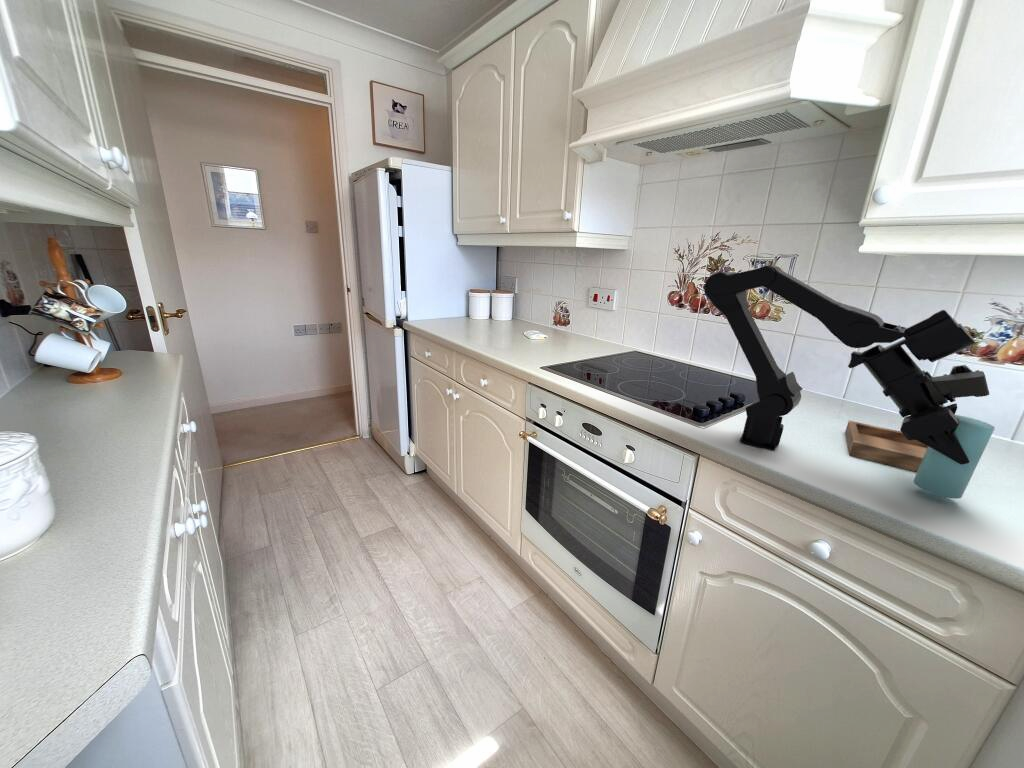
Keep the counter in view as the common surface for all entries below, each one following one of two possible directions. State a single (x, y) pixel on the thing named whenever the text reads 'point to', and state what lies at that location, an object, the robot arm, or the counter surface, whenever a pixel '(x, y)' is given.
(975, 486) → the counter surface
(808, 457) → the counter surface
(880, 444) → the tray
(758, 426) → the robot arm
